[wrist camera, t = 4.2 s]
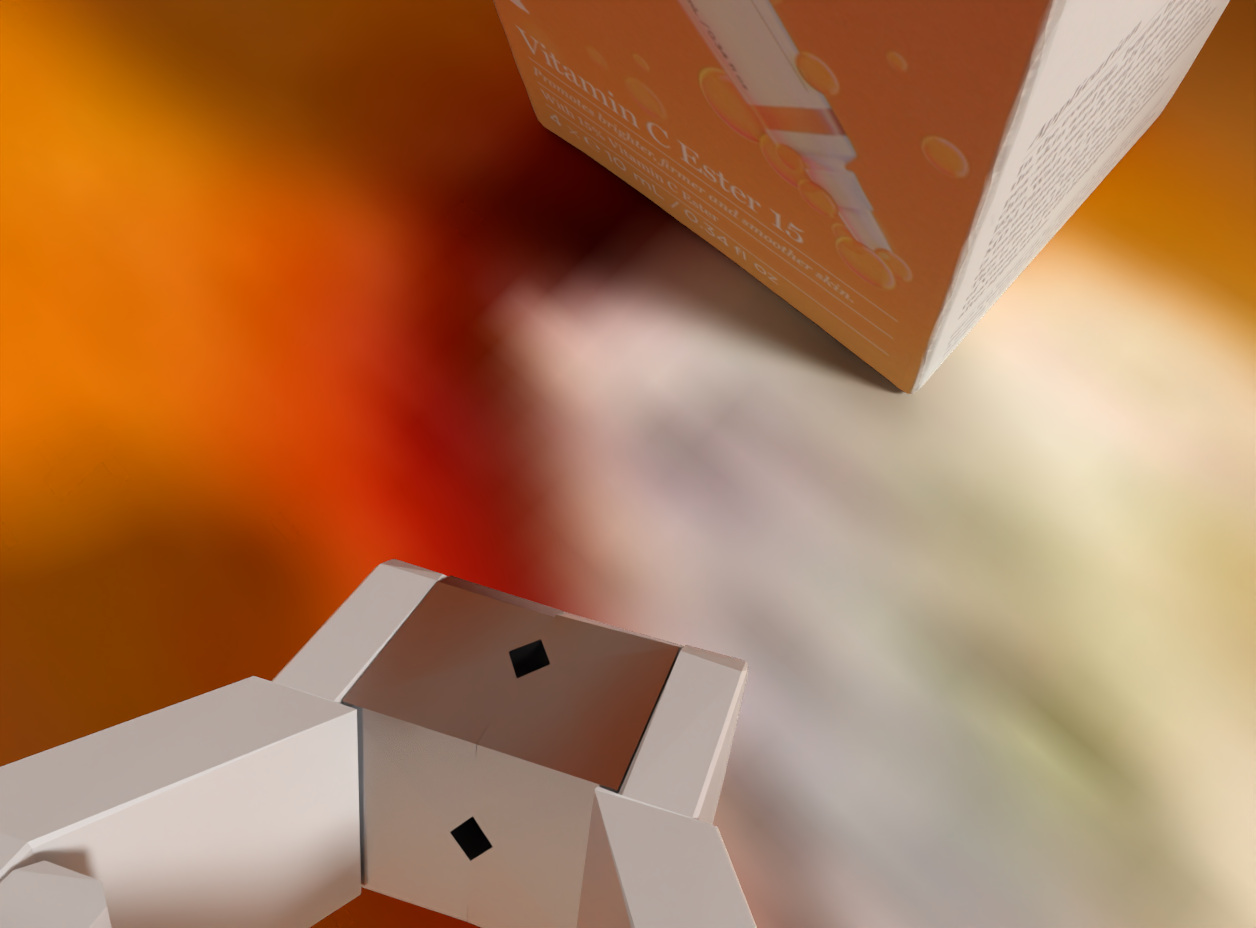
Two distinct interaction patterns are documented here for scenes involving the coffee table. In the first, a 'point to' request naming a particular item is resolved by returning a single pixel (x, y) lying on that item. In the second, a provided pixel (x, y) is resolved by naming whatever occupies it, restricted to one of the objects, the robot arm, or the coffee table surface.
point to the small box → (862, 136)
